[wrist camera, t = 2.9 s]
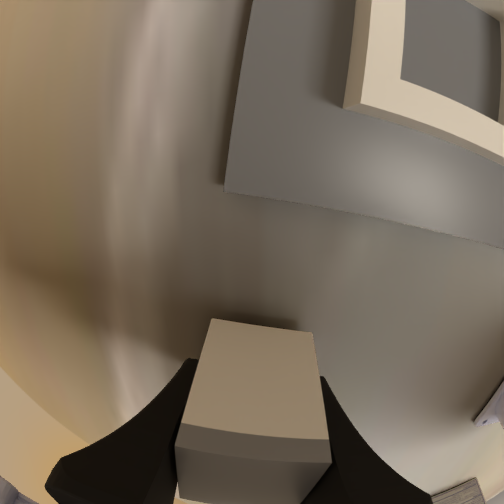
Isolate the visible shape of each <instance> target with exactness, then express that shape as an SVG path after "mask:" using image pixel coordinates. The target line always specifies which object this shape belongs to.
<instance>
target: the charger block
mask: <svg viewBox="0 0 504 504" xmlns="http://www.w3.org/2000/svg"><path fill="white" fill-rule="evenodd" d="M175 458H176V468H177V478H178V487H179V496H180V498H183V499H187V500H192V501H198V502H203V503H209V504H300V503H301V502H302V501H303V500H304V498H305V497H306V496H307V495H308V493H309V492H310V491H311V490H312V488H313V487H314V486H315V485H316V483H317V482H318V481H319V479H320V478H321V477H322V475H323V474H324V473H325V471H326V470H327V469H328V467H329V466H330V465H331V463H332V459H331V451H330V443H329V436H328V429H327V422H326V415H325V408H324V402H323V395H322V389H321V382H320V376H319V370H318V364H317V358H316V352H315V346H314V341H313V335H312V332H303V331H295V330H287V329H280V328H272V327H265V326H258V325H251V324H245V323H238V322H232V321H226V320H220V319H214V318H212V319H211V322H210V326H209V329H208V332H207V336H206V339H205V342H204V346H203V349H202V352H201V356H200V359H199V362H198V366H197V369H196V373H195V376H194V379H193V383H192V386H191V390H190V393H189V397H188V400H187V404H186V407H185V410H184V414H183V417H182V421H181V424H180V428H179V432H178V435H177V439H176V442H175Z"/></svg>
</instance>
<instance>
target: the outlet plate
mask: <svg viewBox="0 0 504 504" xmlns="http://www.w3.org/2000/svg"><path fill="white" fill-rule="evenodd" d="M223 192H229V193H236V194H243V195H250V196H256V197H263V198H269V199H275V200H281V201H287V202H293V203H299V204H305V205H310V206H316V207H322V208H327V209H332V210H338V211H343V212H348V213H353V214H358V215H363V216H368V217H373V218H378V219H382V220H387V221H392V222H396V223H401V224H405V225H410V226H414V227H419V228H423V229H427V230H431V231H436V232H440V233H444V234H448V235H452V236H456V237H460V238H464V239H468V240H472V241H475V242H479V243H483V244H487V245H490V246H494V247H498V248H501V249H504V0H253V4H252V9H251V15H250V20H249V26H248V31H247V37H246V43H245V48H244V54H243V60H242V66H241V72H240V78H239V85H238V91H237V97H236V104H235V111H234V117H233V124H232V131H231V138H230V145H229V152H228V160H227V167H226V175H225V182H224V190H223Z"/></svg>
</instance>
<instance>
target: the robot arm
mask: <svg viewBox="0 0 504 504" xmlns="http://www.w3.org/2000/svg"><path fill="white" fill-rule="evenodd" d="M198 362H199V360H196V359H191V358H188V359H186V360H185V362H184V363H183V365H182V366H181V368H180V369H179V370H178V372H177V373H176V374H175V376H174V377H173V378H172V379H171V381H170V382H169V383H168V384H167V385H166V386H165V387H164V389H163V390H162V391H161V392H160V393H159V394H158V395H157V396H156V397H155V398H154V399H153V400H152V401H151V402H150V403H149V404H148V405H147V406H146V407H145V408H144V409H143V410H141V411H140V412H139V413H138V414H137V415H136V416H134V417H133V418H132V419H131V420H129V421H128V422H127V423H125V424H124V425H123V426H121V427H120V428H118V429H117V430H115V431H114V432H112V433H111V434H109V435H108V436H106V437H104V438H102V439H100V440H99V441H97V442H95V443H93V444H91V445H89V446H88V447H85V448H83V449H81V450H79V451H76V452H74V453H71V454H69V455H67V456H64V457H62V458H60V460H59V461H58V462H57V464H56V465H55V467H54V468H53V470H52V472H51V474H50V475H49V477H48V479H47V482H46V483H45V489H46V490H47V492H48V493H49V494H50V495H51V496H52V497H53V498H54V499H55V500H56V501H57V502H58V503H59V504H173V501H174V497H175V492H176V487H177V482H178V478H177V468H176V458H175V442H176V439H177V435H178V432H179V428H180V424H181V421H182V417H183V414H184V410H185V407H186V404H187V400H188V397H189V393H190V390H191V386H192V383H193V379H194V376H195V373H196V369H197V366H198ZM320 382H321V389H322V395H323V402H324V408H325V415H326V422H327V429H328V436H329V443H330V451H331V459H332V463H331V465H330V466H329V467H328V469H327V470H326V471H325V473H324V474H323V475H322V477H321V478H320V479H319V481H318V482H317V483H316V485H315V486H314V487H313V488H312V490H311V491H310V492H309V493H308V495H307V496H306V497H305V498H304V500H303V501H302V502H301V503H300V504H433V501H432V498H431V496H430V495H429V494H428V493H426V492H424V491H423V490H421V489H419V488H418V487H416V486H414V485H413V484H411V483H410V482H409V481H407V480H406V479H404V478H403V477H402V476H400V475H399V474H398V473H397V472H395V471H394V470H393V469H392V468H391V467H390V466H389V465H388V464H386V463H385V462H384V461H383V460H382V459H381V458H380V457H379V456H378V455H377V454H376V453H375V452H374V451H373V450H372V448H371V447H370V446H369V445H368V444H367V443H366V442H365V440H364V439H363V438H362V437H361V435H360V434H359V433H358V431H357V430H356V429H355V427H354V426H353V424H352V423H351V421H350V420H349V418H348V417H347V415H346V414H345V412H344V411H343V409H342V408H341V406H340V404H339V403H338V401H337V399H336V397H335V396H334V394H333V392H332V390H331V389H330V387H329V385H328V383H327V381H326V379H325V378H324V377H323V376H320ZM496 422H500V423H501V425H502V427H503V429H504V381H503V382H502V384H501V385H500V387H499V388H498V390H497V391H496V393H495V394H494V396H493V397H492V398H491V400H490V401H489V402H488V404H487V405H486V406H485V408H484V409H483V410H482V412H481V413H480V414H479V416H478V417H477V418H476V419H475V421H474V425H475V427H479V426H483V425H488V424H492V423H496ZM0 504H38V503H37V502H35V501H33V500H31V499H30V498H28V497H26V496H25V495H23V494H21V493H20V492H18V490H17V489H16V488H15V487H14V486H13V485H12V484H11V483H9V482H8V481H7V480H5V479H4V478H2V477H1V476H0Z"/></svg>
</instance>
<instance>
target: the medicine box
mask: <svg viewBox="0 0 504 504" xmlns="http://www.w3.org/2000/svg"><path fill="white" fill-rule="evenodd" d="M431 498H432V501H433V504H486V501H485V498H484V496H483V493H482V490H481V488H480V485H479V483H478V480H477V478H474V479H472V480H470V481H468V482H466V483H464V484H461V485H459V486H457V487H455V488H453V489H450V490H448V491H445V492H443V493H440V494H438V495H435V496H433V497H431Z"/></svg>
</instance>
